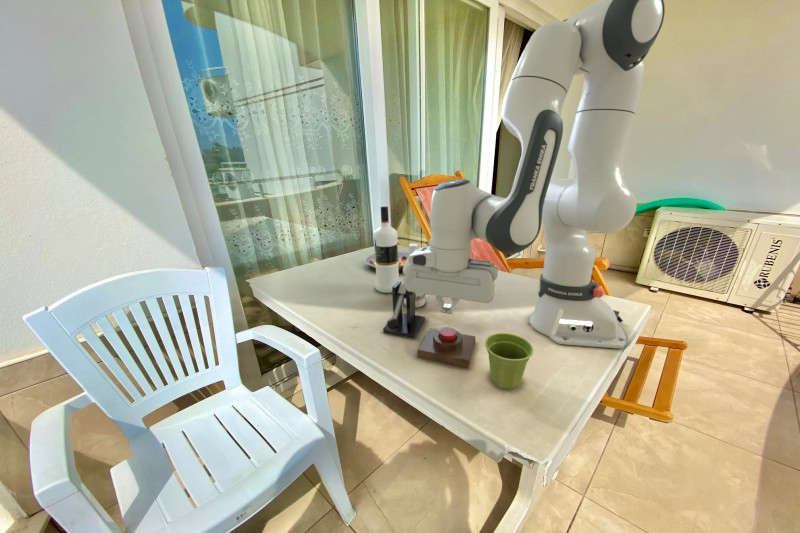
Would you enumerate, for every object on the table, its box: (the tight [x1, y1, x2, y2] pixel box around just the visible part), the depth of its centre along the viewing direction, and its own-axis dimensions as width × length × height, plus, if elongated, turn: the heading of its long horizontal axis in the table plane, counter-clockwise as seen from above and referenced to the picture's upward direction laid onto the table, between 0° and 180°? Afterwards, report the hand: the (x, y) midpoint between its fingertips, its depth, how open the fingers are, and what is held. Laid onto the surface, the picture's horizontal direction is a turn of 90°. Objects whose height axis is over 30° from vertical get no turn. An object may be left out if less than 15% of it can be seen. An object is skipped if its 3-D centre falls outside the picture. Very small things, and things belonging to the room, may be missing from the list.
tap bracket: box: [382, 280, 426, 339], centre depth 84 cm, size 10×9×13 cm
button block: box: [417, 327, 476, 369], centre depth 75 cm, size 12×10×4 cm
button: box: [439, 326, 457, 342], centre depth 74 cm, size 4×4×2 cm
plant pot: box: [484, 332, 534, 390], centre depth 64 cm, size 9×9×9 cm
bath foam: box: [402, 243, 426, 309], centre depth 96 cm, size 7×7×20 cm
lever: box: [386, 283, 406, 331], centre depth 80 cm, size 13×3×3 cm
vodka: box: [372, 205, 401, 294], centre depth 105 cm, size 9×9×30 cm
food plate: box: [364, 250, 409, 272], centre depth 134 cm, size 25×23×4 cm
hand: (447, 312), depth 71 cm, fingers closed
